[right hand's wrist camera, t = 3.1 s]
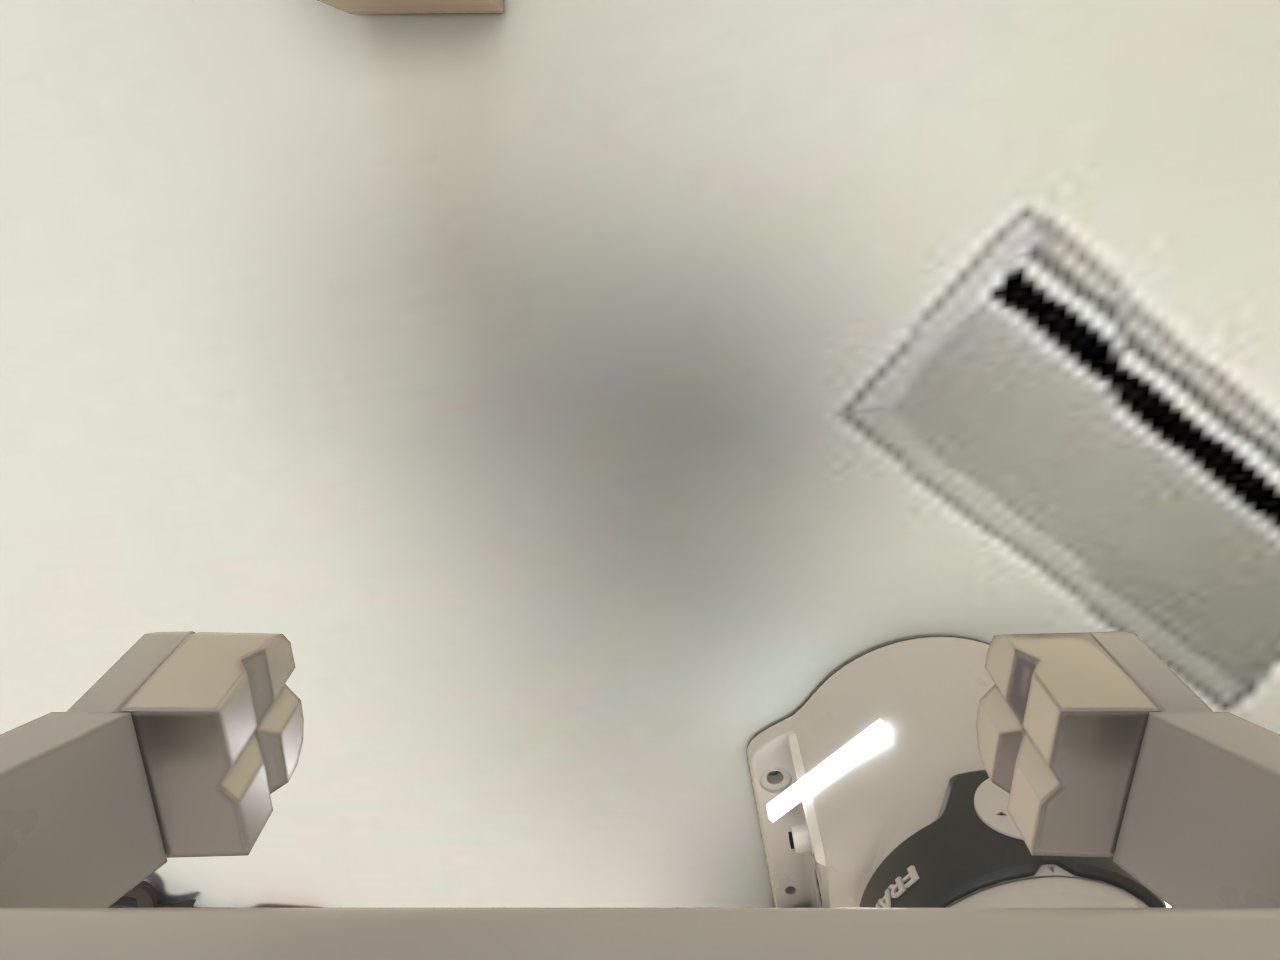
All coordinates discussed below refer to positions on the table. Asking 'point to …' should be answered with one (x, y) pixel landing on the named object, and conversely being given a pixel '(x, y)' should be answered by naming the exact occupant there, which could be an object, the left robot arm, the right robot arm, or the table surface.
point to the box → (416, 6)
